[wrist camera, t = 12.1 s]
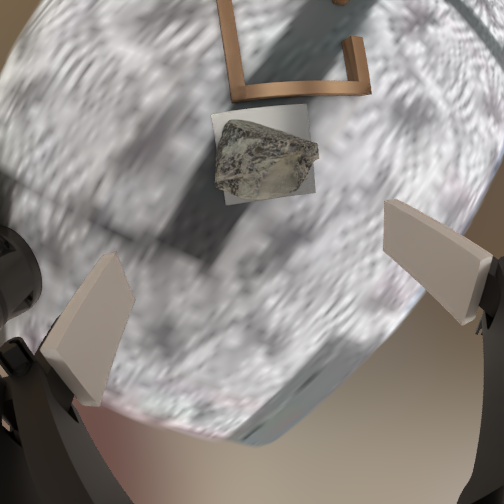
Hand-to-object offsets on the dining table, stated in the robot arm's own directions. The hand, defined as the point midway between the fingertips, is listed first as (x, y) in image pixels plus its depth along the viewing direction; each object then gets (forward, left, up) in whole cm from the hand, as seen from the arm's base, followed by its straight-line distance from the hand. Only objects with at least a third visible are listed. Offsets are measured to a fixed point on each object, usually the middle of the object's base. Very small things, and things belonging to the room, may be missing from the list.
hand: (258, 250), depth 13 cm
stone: (+3, +2, -21) cm, 22 cm away
